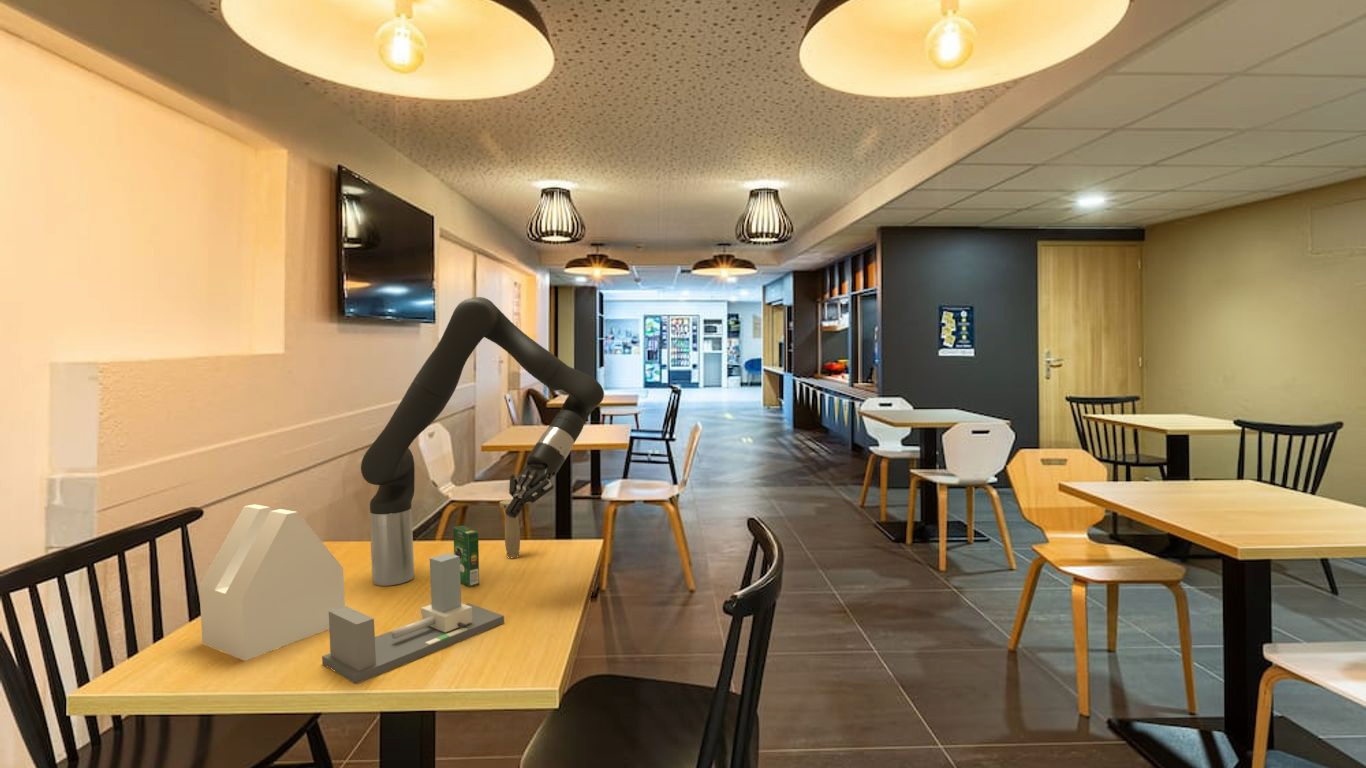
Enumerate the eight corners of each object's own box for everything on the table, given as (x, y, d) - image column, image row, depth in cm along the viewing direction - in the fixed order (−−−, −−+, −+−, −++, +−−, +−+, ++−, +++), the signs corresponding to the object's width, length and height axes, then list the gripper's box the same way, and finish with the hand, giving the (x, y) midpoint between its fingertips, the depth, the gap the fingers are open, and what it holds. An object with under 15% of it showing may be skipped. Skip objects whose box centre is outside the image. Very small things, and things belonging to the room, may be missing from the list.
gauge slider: (382, 637, 123) (379, 568, 123) (448, 612, 135) (446, 550, 134) (411, 650, 117) (408, 579, 117) (478, 624, 128) (476, 558, 128)
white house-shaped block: (245, 661, 119) (237, 524, 118) (202, 644, 126) (195, 515, 125) (345, 623, 135) (340, 502, 134) (302, 609, 143) (297, 495, 142)
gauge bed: (322, 664, 117) (320, 611, 116) (468, 609, 141) (467, 566, 140) (355, 683, 109) (353, 627, 109) (504, 622, 133) (502, 576, 133)
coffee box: (481, 585, 156) (479, 530, 155) (469, 588, 154) (467, 533, 153) (465, 577, 162) (463, 524, 161) (454, 580, 160) (452, 526, 159)
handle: (515, 561, 173) (513, 504, 173) (497, 558, 176) (495, 502, 176) (528, 556, 177) (526, 501, 177) (510, 553, 181) (508, 499, 180)
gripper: (522, 439, 152) (480, 502, 143) (561, 442, 144) (519, 509, 135) (541, 459, 157) (501, 521, 148) (580, 463, 149) (540, 529, 140)
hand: (509, 515), depth 142 cm, fingers closed
